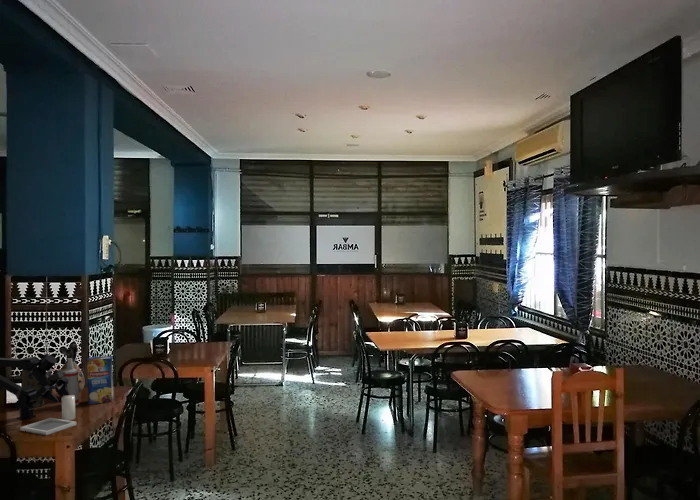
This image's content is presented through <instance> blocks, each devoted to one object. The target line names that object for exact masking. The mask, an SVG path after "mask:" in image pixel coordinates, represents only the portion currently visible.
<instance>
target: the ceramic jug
mask: <svg viewBox="0 0 700 500" xmlns="http://www.w3.org/2000/svg"><path fill="white" fill-rule="evenodd" d="M61 351H62V352H61V353H62V355H64V356H65V357H67V358H66V360H65V362H64V364H63V365H62V367H61V368H60V369H59V370H63V371H65V370H66V369H67V363H68V358H72V362H73V367H74V369H76V370H78V384H79V395H80V393H82V391H83V389H84V388H85V385H86V381H85V376H84V373H83V371H82V370H81V368H80V366H79V365H78V364H77V363H76V358H77V352H78V345H77V344H76V343H71V344H70V345H69V347H68V348H67V347H66V348H64V349H62V350H61ZM60 379H63V377H62V378H60ZM60 379H58V380H60ZM56 384H57V382H56ZM54 389H55V388H54ZM55 392H56V394H58V396H59V398H60V400H61V397H63V394H61V393H59V392H58V390H56V389H55Z"/></svg>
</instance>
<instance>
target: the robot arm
mask: <svg viewBox="0 0 700 500" xmlns="http://www.w3.org/2000/svg"><path fill="white" fill-rule="evenodd" d="M57 362H58V360H57V358H56V357H55V356H53V355H50V354H48V353H45V354H43V356H42V357H41V358H38V357H36V356H30V357H25V358H24V357H23V358H9V357H8V358H7V357H0V368H2V367H5V368H17V369H19V370H22V371H23V370H26V371H27V370H30V369H33V370H32V371H31V372H28V373H29V375H28V378H30V377H34V378H35V379H36V380H37V381H38V382H39V383H38V385H42V386H41V388H40V389H39V390H38V391H36V390H35V388H32V387H31V386H26V387H22V385H19V384H18V383H16V382H14V381H12V380H10V379H9V378H7V377H5V376H3V375H1V374H0V388H1V389H3V390H5V391H7V392H9V393H11V394H13V395H15V397H16V399H17V401H16V402H15V403H14V406H15V408H17V409H19V410H18V414H19V416H17V417H16V419H18V420H22V421H25V420H28V419H31V418H36V417H37V415H35V414H34V412H35V411H34V408H33V404H34V403H36V401H37V399H38V398H40V397H41V398H44V400H48V401H50V402H54V403H57V404H58V403H59V402H60V400H59V399H58V398H57V396H56V395H55V394H54V393H53V390H54V389H56V390H58V392H59V393H61V394H63V395H64V396H66V395H70V394H69V391H68V389H67V384H68V381H69V380H68V379H67V378H63V379H60V378H62V377H64V375H65V372H64V371H63V370H60V369H59V370H57V371H56V372H55V373H54V374H53V373H50V374H48V373H47V372H50V371H51V369H52V368H54V366H55V365H56V363H57ZM58 379H60V380H58ZM56 382H57V384H56ZM56 390H55V391H56Z"/></svg>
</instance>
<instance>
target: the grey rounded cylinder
mask: <svg viewBox="0 0 700 500" xmlns="http://www.w3.org/2000/svg"><path fill="white" fill-rule="evenodd" d="M60 400H61V419H62V420H68V421H73V420H75V419H76V405H75V395H66V396H63V397H61V399H60Z"/></svg>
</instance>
